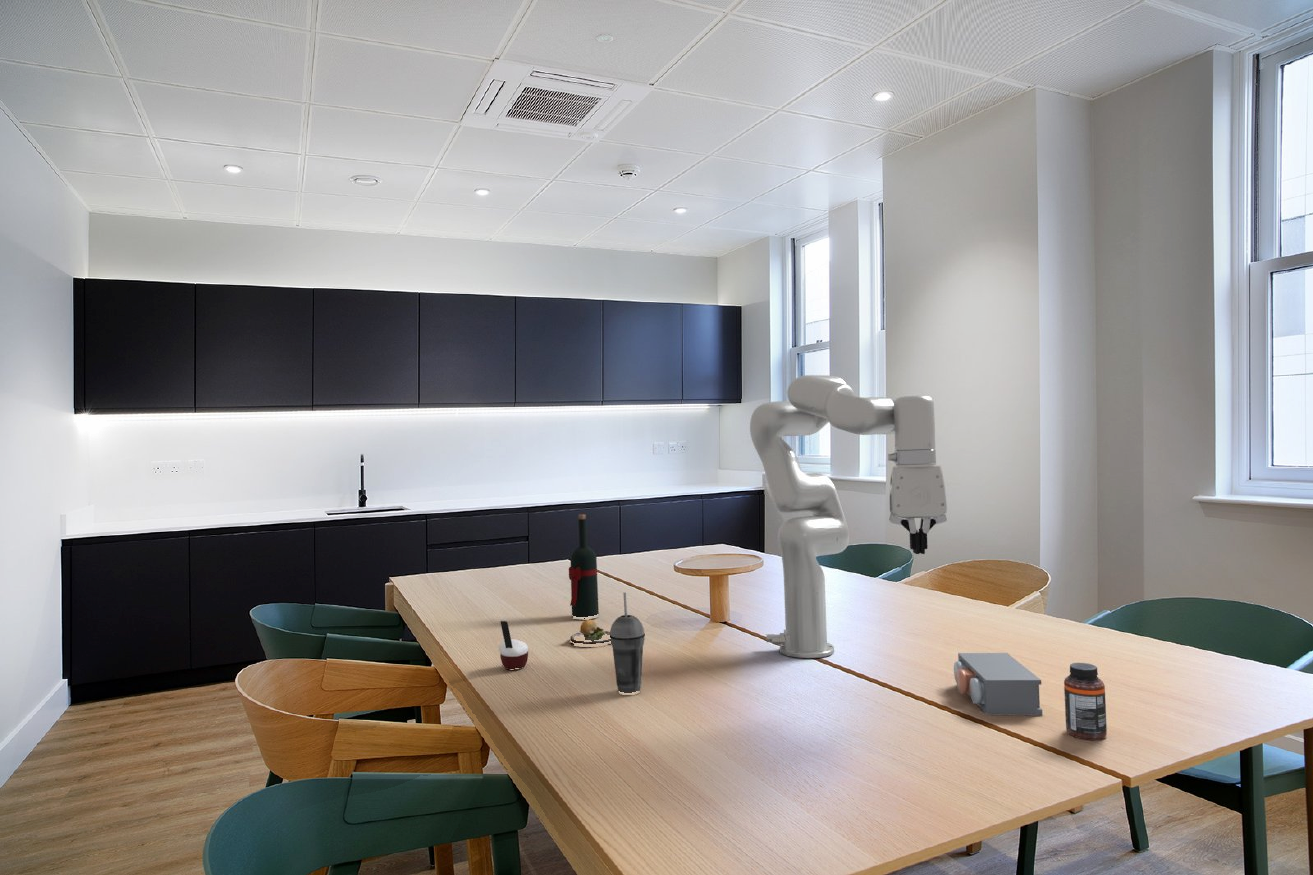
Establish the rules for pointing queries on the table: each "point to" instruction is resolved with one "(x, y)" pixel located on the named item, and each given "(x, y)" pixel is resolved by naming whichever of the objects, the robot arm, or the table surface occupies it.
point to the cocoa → (512, 650)
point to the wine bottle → (583, 576)
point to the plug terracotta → (964, 680)
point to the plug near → (977, 691)
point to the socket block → (1004, 684)
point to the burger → (590, 633)
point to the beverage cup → (627, 651)
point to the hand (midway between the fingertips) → (918, 552)
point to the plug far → (959, 667)
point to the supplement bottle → (1085, 702)
